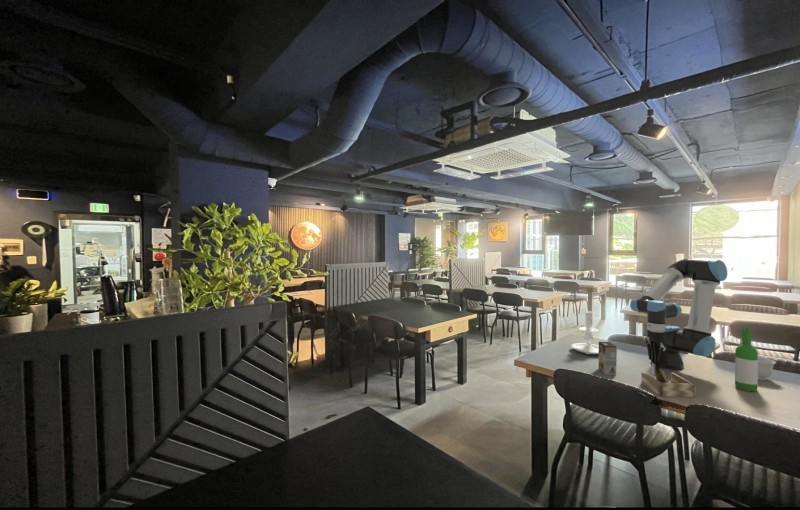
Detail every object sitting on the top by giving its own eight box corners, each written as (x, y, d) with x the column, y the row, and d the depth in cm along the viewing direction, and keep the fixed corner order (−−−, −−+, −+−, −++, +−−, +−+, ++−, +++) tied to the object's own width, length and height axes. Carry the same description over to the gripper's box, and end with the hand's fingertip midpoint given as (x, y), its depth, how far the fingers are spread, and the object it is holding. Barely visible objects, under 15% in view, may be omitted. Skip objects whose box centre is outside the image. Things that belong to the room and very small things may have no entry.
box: (673, 384, 169) (673, 372, 169) (695, 397, 155) (695, 384, 154) (641, 383, 170) (641, 372, 170) (660, 396, 156) (660, 383, 156)
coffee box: (597, 368, 191) (598, 341, 191) (610, 369, 190) (610, 341, 190) (604, 374, 182) (604, 346, 182) (617, 375, 181) (617, 346, 181)
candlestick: (569, 356, 213) (569, 313, 212) (572, 345, 234) (572, 306, 233) (606, 361, 202) (606, 316, 201) (606, 350, 222) (607, 309, 222)
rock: (651, 376, 174) (644, 378, 168) (664, 366, 170) (657, 367, 164) (671, 394, 166) (664, 397, 161) (685, 384, 162) (678, 387, 157)
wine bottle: (756, 393, 157) (757, 331, 156) (733, 387, 163) (734, 328, 162) (758, 389, 162) (759, 328, 161) (736, 383, 168) (737, 325, 167)
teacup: (775, 376, 176) (775, 358, 175) (775, 384, 166) (776, 365, 166) (743, 370, 185) (743, 352, 185) (741, 377, 175) (741, 359, 175)
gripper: (640, 327, 177) (640, 370, 178) (656, 334, 164) (656, 380, 165) (655, 327, 176) (655, 370, 177) (673, 334, 163) (672, 380, 164)
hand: (655, 375), depth 171 cm, fingers closed
